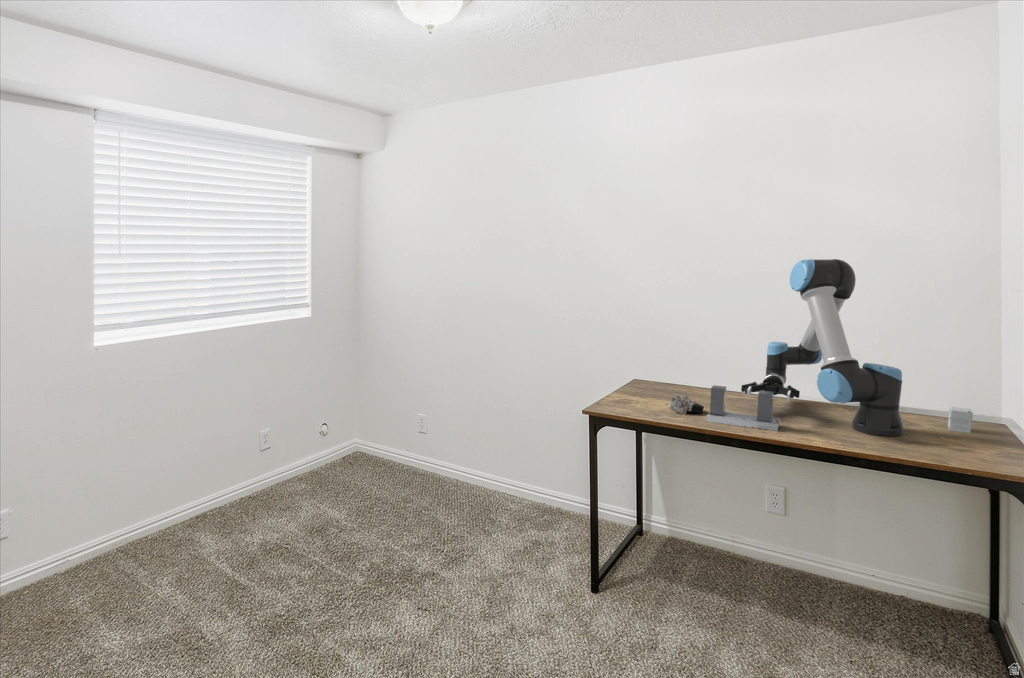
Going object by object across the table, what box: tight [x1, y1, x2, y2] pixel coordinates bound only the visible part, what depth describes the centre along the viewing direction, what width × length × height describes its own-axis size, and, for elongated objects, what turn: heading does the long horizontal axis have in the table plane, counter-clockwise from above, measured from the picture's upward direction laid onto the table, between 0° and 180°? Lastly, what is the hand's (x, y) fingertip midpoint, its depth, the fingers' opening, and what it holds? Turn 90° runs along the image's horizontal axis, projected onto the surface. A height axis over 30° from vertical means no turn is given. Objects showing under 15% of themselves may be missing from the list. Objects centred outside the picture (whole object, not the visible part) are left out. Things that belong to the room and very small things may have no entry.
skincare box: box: [947, 406, 974, 434], centre depth 199 cm, size 6×6×7 cm
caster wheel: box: [668, 393, 705, 416], centre depth 223 cm, size 7×11×10 cm
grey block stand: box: [706, 384, 781, 432], centre depth 207 cm, size 24×8×12 cm, turn 60°
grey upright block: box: [756, 390, 775, 422], centre depth 203 cm, size 5×4×11 cm
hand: (767, 395), depth 209 cm, fingers open, 13 cm apart
